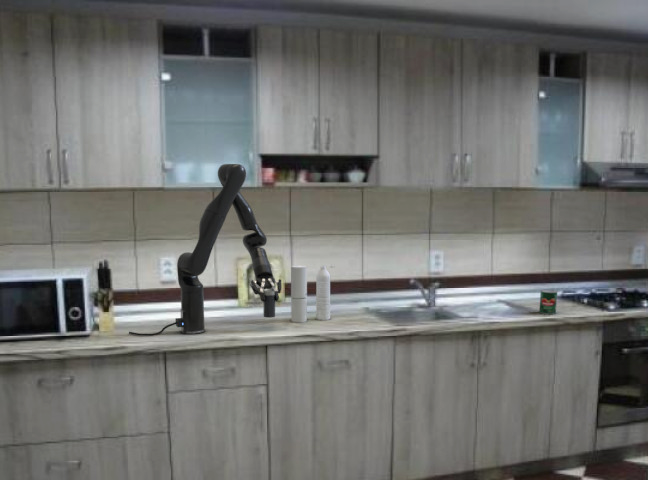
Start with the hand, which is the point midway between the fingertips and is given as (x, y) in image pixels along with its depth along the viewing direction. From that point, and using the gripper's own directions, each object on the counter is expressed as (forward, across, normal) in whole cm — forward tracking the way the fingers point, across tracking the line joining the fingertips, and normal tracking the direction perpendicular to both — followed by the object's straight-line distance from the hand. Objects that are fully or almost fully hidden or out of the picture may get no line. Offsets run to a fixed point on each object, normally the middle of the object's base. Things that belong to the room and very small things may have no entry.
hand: (270, 300), depth 261 cm
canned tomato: (+17, +139, 0) cm, 140 cm away
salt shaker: (+4, 0, +6) cm, 7 cm away
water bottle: (-1, +31, +20) cm, 37 cm away
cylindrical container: (-1, +18, +20) cm, 27 cm away
